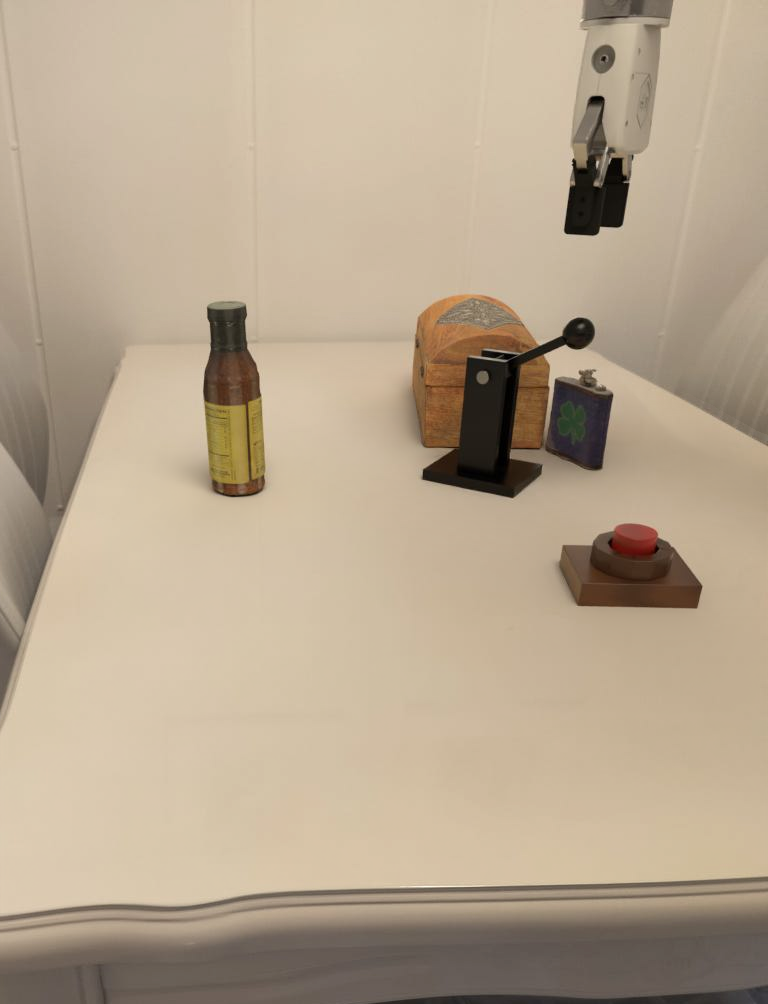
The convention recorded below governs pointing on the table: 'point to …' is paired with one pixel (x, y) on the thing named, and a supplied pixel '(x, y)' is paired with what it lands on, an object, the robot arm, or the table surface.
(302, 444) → the table surface
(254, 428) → the sauce bottle
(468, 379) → the bracket
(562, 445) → the flask
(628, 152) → the robot arm
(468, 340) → the wooden box
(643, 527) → the button
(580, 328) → the lever
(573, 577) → the button block
